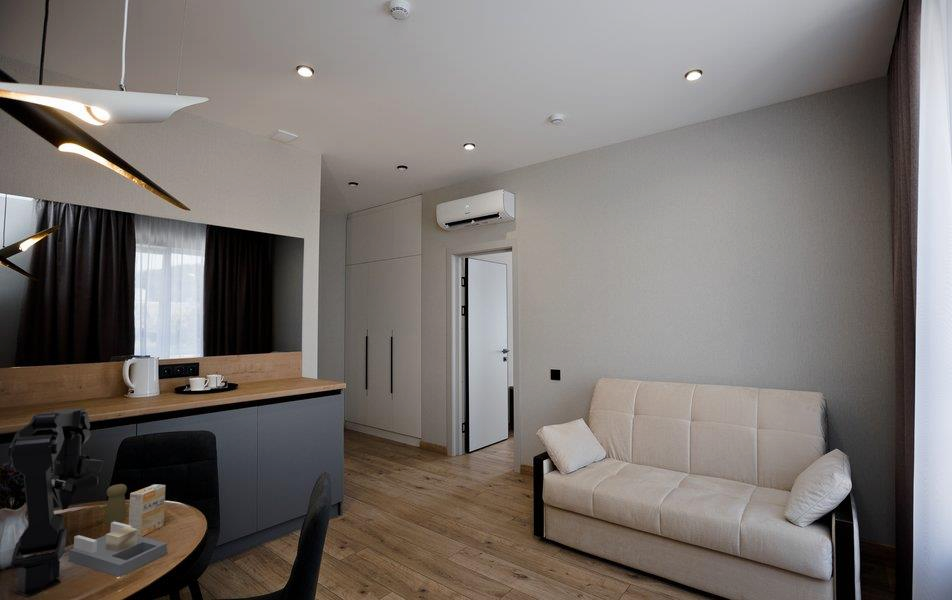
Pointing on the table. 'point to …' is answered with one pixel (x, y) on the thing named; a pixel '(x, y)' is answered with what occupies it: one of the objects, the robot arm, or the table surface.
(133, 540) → the birch block
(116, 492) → the cork
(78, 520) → the table surface
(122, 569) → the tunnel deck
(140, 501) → the supplement box
